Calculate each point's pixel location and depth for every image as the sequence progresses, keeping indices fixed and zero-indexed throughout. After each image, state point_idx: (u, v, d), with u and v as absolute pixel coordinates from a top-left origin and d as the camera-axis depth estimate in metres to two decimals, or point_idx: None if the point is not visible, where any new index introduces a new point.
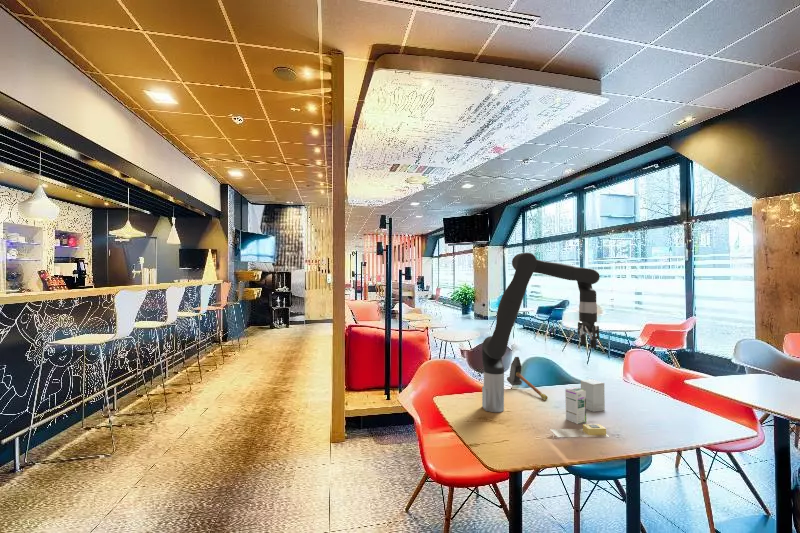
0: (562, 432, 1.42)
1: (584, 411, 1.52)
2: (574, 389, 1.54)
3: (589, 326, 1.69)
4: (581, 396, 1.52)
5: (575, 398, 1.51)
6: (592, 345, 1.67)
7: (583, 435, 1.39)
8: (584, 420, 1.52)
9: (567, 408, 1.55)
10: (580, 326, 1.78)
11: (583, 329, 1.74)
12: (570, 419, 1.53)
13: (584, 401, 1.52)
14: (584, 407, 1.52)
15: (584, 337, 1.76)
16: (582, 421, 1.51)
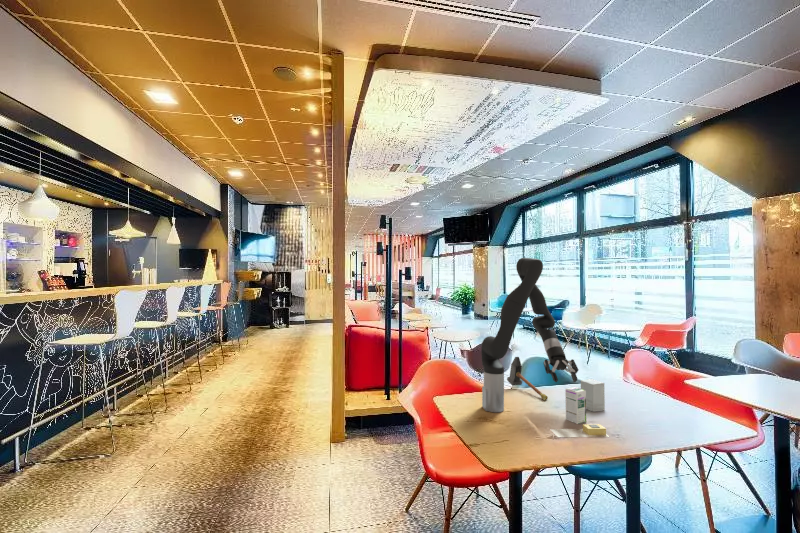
0: (562, 432, 1.42)
1: (584, 411, 1.52)
2: (574, 389, 1.54)
3: (566, 361, 1.69)
4: (581, 396, 1.52)
5: (575, 398, 1.51)
6: (576, 378, 1.63)
7: (583, 435, 1.39)
8: (584, 420, 1.52)
9: (567, 408, 1.55)
10: None
11: (557, 364, 1.67)
12: (570, 419, 1.53)
13: (584, 401, 1.52)
14: (584, 407, 1.52)
15: None
16: (582, 421, 1.51)
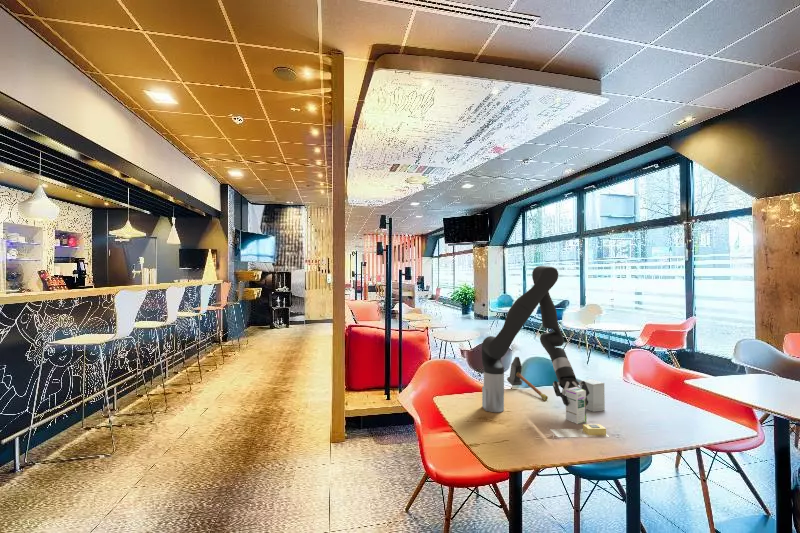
0: (562, 432, 1.42)
1: (584, 411, 1.52)
2: (574, 389, 1.54)
3: (576, 382, 1.59)
4: (581, 396, 1.52)
5: (575, 398, 1.51)
6: (587, 401, 1.54)
7: (583, 435, 1.39)
8: (584, 420, 1.52)
9: (567, 408, 1.55)
10: None
11: (567, 386, 1.58)
12: (570, 419, 1.53)
13: (584, 401, 1.52)
14: (584, 407, 1.52)
15: None
16: (582, 421, 1.51)
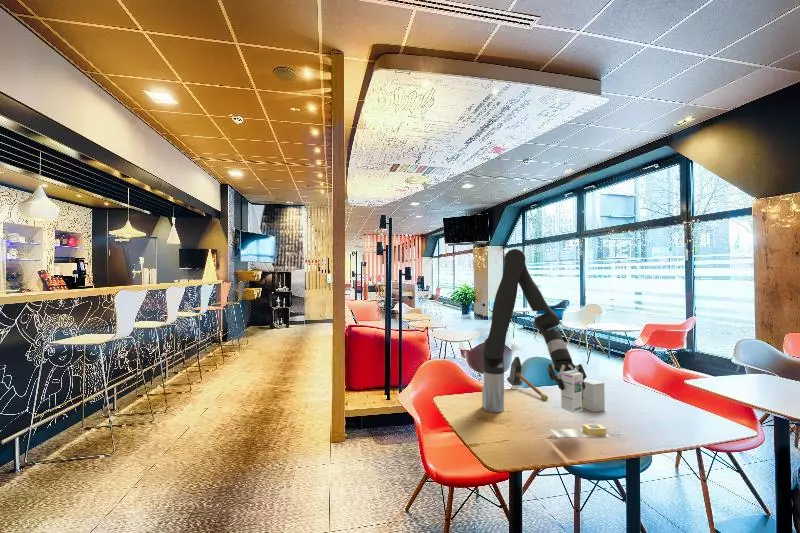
0: (562, 432, 1.42)
1: (581, 396, 1.41)
2: (570, 372, 1.42)
3: (573, 365, 1.48)
4: (578, 380, 1.40)
5: (571, 382, 1.40)
6: (584, 385, 1.42)
7: (583, 435, 1.39)
8: (581, 405, 1.41)
9: (562, 393, 1.43)
10: None
11: (563, 370, 1.46)
12: (566, 404, 1.42)
13: (581, 385, 1.41)
14: (581, 391, 1.41)
15: None
16: (579, 406, 1.40)
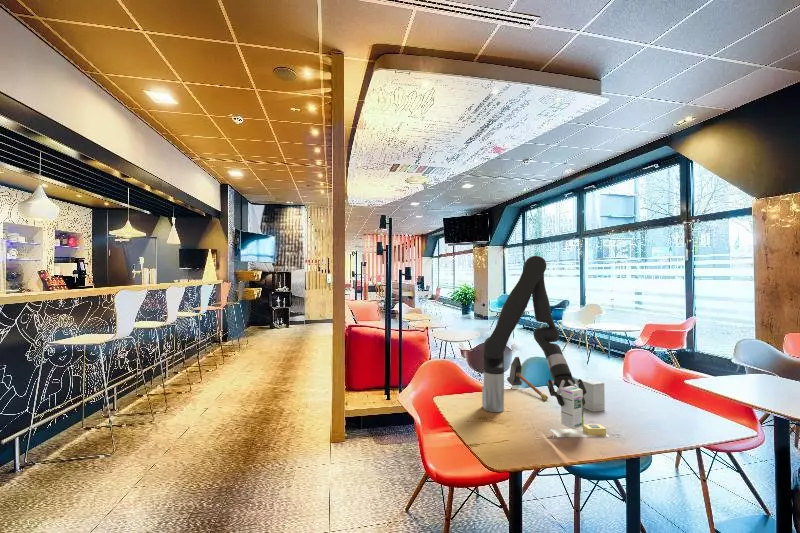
0: (562, 432, 1.42)
1: (581, 412, 1.40)
2: (570, 388, 1.41)
3: (572, 380, 1.47)
4: (578, 396, 1.40)
5: (571, 398, 1.39)
6: (584, 401, 1.42)
7: (583, 435, 1.39)
8: (581, 421, 1.40)
9: (562, 409, 1.42)
10: None
11: (563, 385, 1.46)
12: (566, 421, 1.41)
13: (581, 401, 1.40)
14: (581, 407, 1.40)
15: None
16: (579, 423, 1.39)
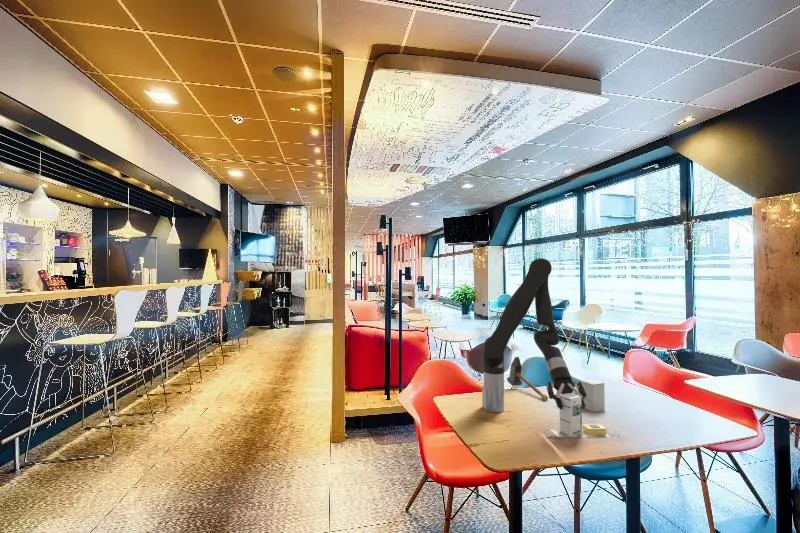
0: (562, 432, 1.42)
1: (579, 419, 1.40)
2: (569, 395, 1.42)
3: (572, 384, 1.47)
4: (577, 403, 1.40)
5: (570, 405, 1.39)
6: (584, 404, 1.41)
7: (583, 435, 1.39)
8: (579, 429, 1.40)
9: (561, 416, 1.43)
10: None
11: (562, 388, 1.45)
12: (564, 428, 1.41)
13: (579, 408, 1.40)
14: (579, 415, 1.40)
15: None
16: (577, 430, 1.39)
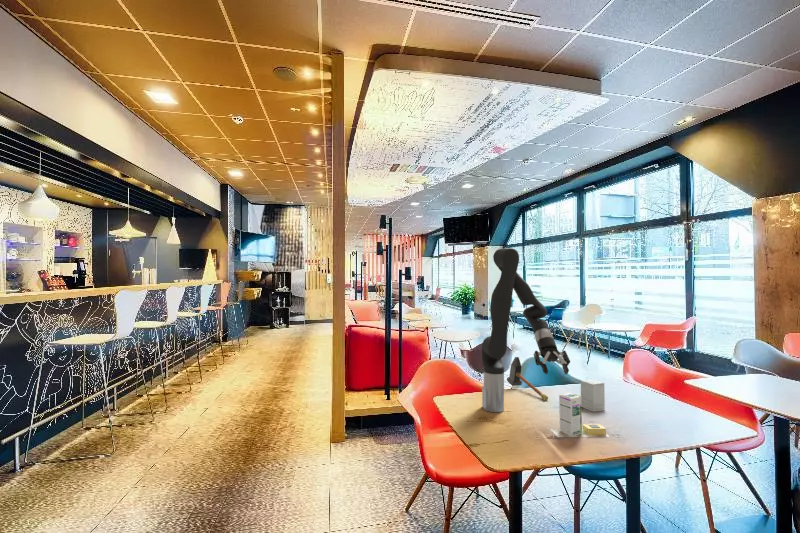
0: (562, 432, 1.42)
1: (579, 419, 1.40)
2: (569, 395, 1.42)
3: (557, 352, 1.60)
4: (576, 403, 1.40)
5: (569, 405, 1.39)
6: (568, 370, 1.55)
7: (583, 435, 1.39)
8: (579, 429, 1.40)
9: (560, 416, 1.43)
10: None
11: (548, 356, 1.58)
12: (564, 428, 1.41)
13: (579, 408, 1.40)
14: (579, 415, 1.40)
15: None
16: (577, 430, 1.39)
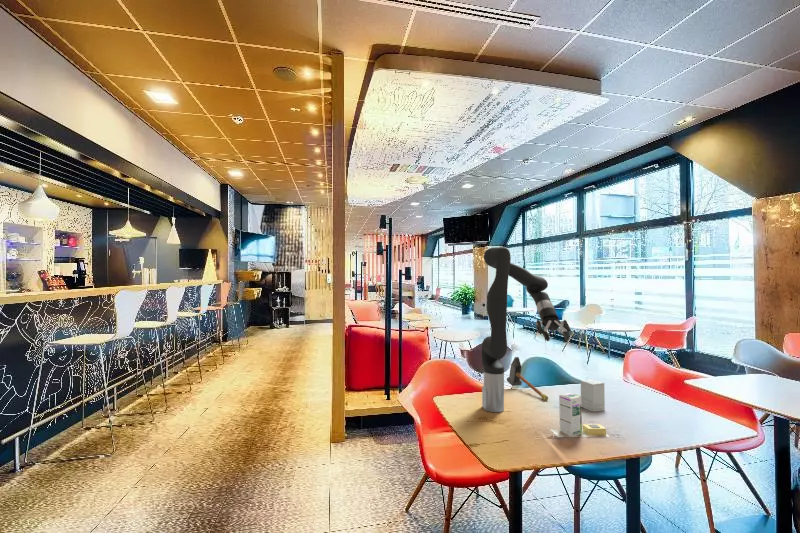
0: (562, 432, 1.42)
1: (579, 419, 1.40)
2: (569, 395, 1.42)
3: (558, 321, 1.68)
4: (576, 403, 1.40)
5: (569, 405, 1.39)
6: (568, 337, 1.62)
7: (583, 435, 1.39)
8: (579, 429, 1.40)
9: (560, 416, 1.43)
10: None
11: (549, 324, 1.66)
12: (564, 428, 1.41)
13: (579, 408, 1.40)
14: (579, 415, 1.40)
15: None
16: (577, 430, 1.39)
